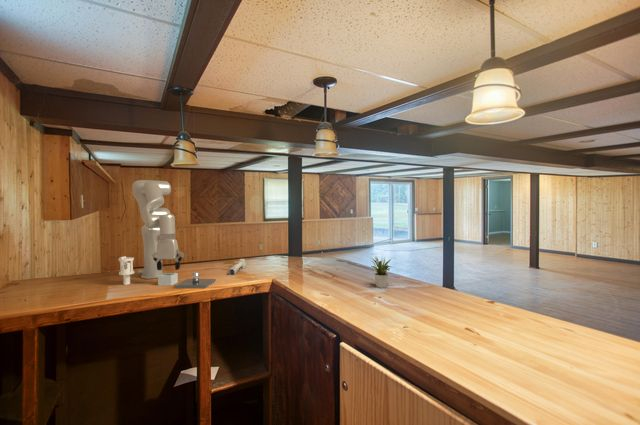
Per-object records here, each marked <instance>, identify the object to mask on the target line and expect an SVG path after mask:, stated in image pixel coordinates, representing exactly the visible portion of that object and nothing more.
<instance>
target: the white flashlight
mask: <svg viewBox="0 0 640 425" xmlns="http://www.w3.org/2000/svg"><path fill="white" fill-rule="evenodd" d="M238 260H239V261H238V262H237V263H236V264H234V265H232V266H231V267H230V268H229V270H228V271H227V272H228V274H229V276H234V275H235V274H236V273H238V271H239V268H240V270H241V269H246V268H247V262H246V260H245V258H240V259H238Z"/></svg>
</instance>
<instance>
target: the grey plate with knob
mask: <svg viewBox="0 0 640 425" xmlns="http://www.w3.org/2000/svg"><path fill="white" fill-rule="evenodd" d="M191 277H192V278H186V279H184V280H182V281H180V282H177V283H175V284H173V288H174V289H206V288H208V287H209V285H210V286H212V285H213V284H215V283H216V282H217V279H216V278H200V272H199V271H192V276H191ZM215 281H216V282H215ZM214 282H215V283H214ZM212 283H213V284H212Z"/></svg>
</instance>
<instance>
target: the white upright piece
mask: <svg viewBox="0 0 640 425" xmlns="http://www.w3.org/2000/svg"><path fill="white" fill-rule="evenodd" d="M134 260H135V257H133V256H128V257H127V256H126V255H125V256H120V257H119V258H118V262H119V264H120V265H119V267H120V270H119V271H118V276H123V277H122V278H123V285H124V286H125V285H126V286H127V285H131V275H134V274H135V270H134V266H133V265H134V264H133V263H134Z"/></svg>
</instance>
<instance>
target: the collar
mask: <svg viewBox="0 0 640 425" xmlns="http://www.w3.org/2000/svg"><path fill="white" fill-rule="evenodd" d="M163 273H164V274H161V275H159V276H158V278H157V286H174V285H176V284H178V283H179V282H178V280H179V279H178V278H179V277H178V276H179V273H178V272H163Z"/></svg>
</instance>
